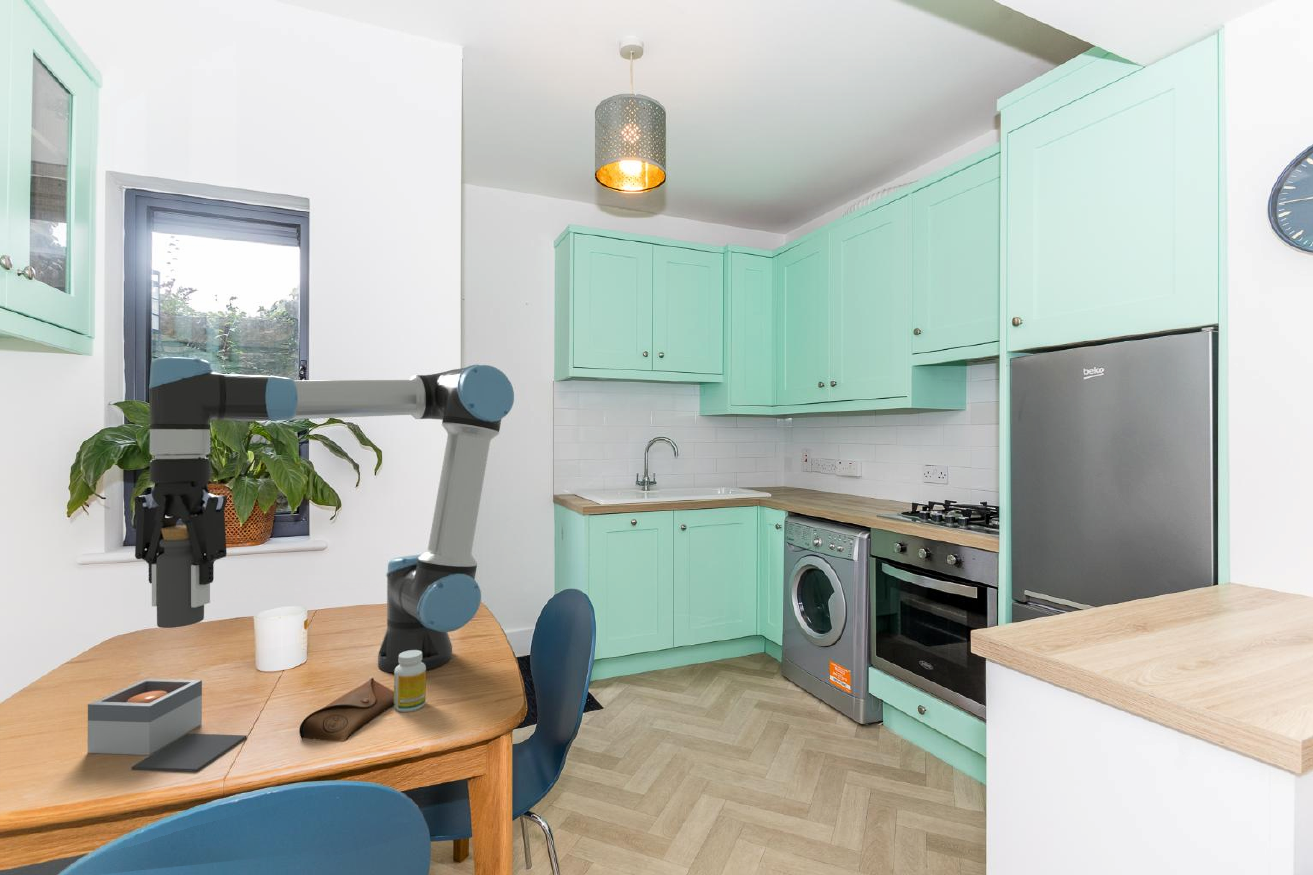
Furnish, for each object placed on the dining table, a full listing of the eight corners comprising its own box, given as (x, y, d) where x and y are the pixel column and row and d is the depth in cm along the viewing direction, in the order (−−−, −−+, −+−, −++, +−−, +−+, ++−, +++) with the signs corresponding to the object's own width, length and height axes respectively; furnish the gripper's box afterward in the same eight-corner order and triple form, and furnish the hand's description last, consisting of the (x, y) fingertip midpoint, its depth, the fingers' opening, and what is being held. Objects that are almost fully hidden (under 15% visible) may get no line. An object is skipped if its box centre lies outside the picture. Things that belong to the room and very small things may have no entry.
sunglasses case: (344, 742, 97) (326, 705, 97) (311, 761, 98) (293, 724, 98) (409, 695, 114) (393, 664, 115) (380, 712, 115) (364, 680, 116)
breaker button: (175, 727, 100) (175, 691, 100) (148, 742, 95) (148, 704, 95) (146, 726, 101) (146, 690, 101) (118, 741, 96) (118, 703, 96)
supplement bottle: (387, 707, 109) (388, 654, 109) (414, 697, 114) (414, 646, 114) (405, 715, 106) (405, 661, 106) (431, 704, 111) (432, 652, 111)
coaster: (246, 737, 98) (246, 735, 98) (196, 771, 88) (196, 768, 88) (187, 735, 99) (187, 733, 99) (131, 769, 89) (131, 766, 89)
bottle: (176, 629, 91) (176, 530, 91) (146, 626, 93) (146, 529, 92) (213, 618, 97) (213, 524, 97) (184, 615, 98) (184, 523, 98)
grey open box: (201, 724, 103) (202, 680, 103) (149, 754, 93) (149, 706, 93) (145, 722, 103) (145, 678, 103) (87, 752, 93) (87, 704, 93)
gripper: (255, 456, 98) (255, 599, 98) (147, 456, 99) (147, 596, 99) (217, 458, 90) (217, 612, 90) (101, 457, 92) (102, 609, 92)
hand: (181, 604), depth 95 cm, fingers closed on bottle, 6 cm apart
